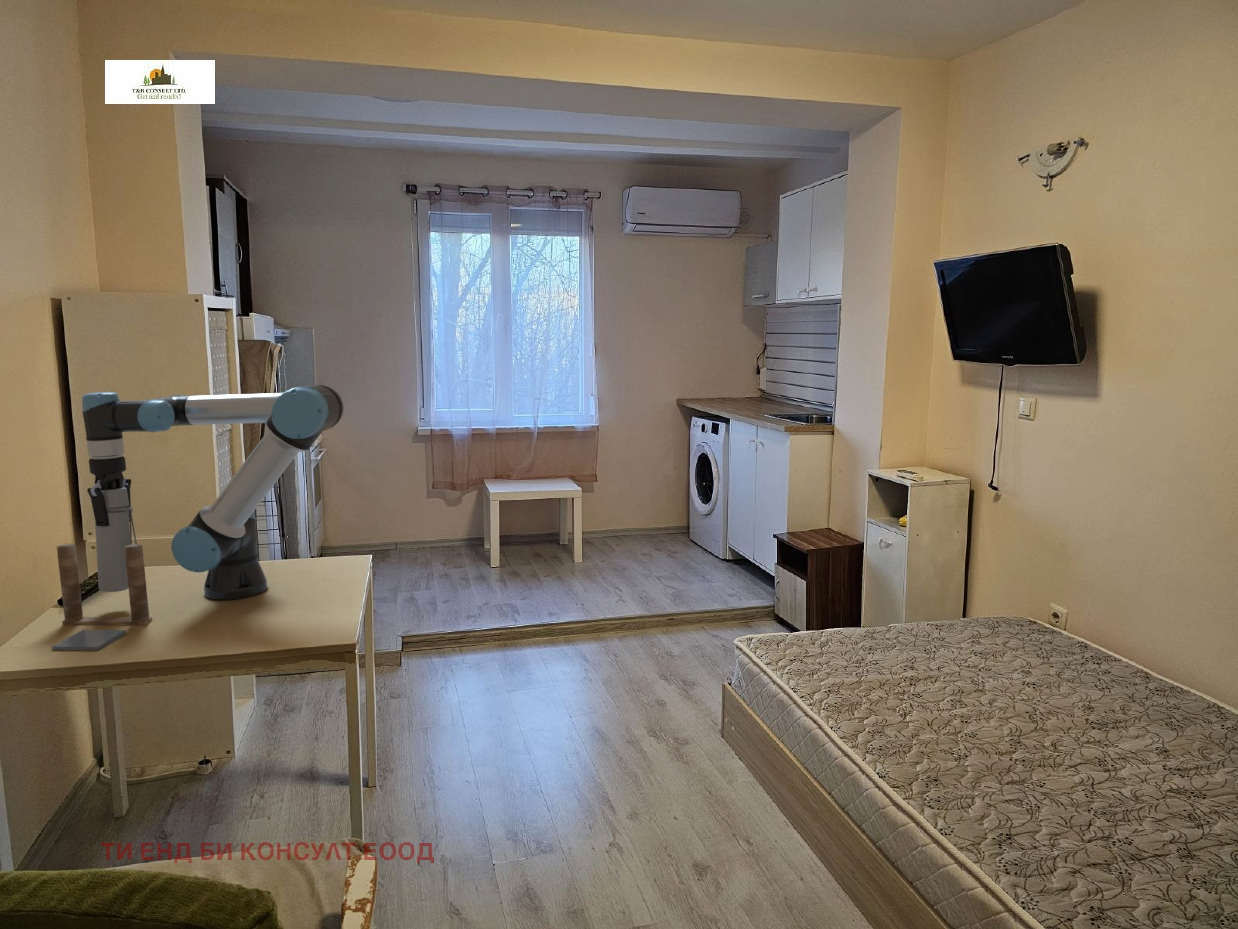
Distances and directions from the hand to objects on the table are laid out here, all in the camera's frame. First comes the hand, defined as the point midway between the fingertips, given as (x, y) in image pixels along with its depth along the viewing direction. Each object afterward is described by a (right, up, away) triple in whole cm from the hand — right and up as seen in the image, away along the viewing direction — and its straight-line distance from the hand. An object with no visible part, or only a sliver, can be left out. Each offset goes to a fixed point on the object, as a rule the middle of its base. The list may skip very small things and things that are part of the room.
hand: (117, 550), depth 198 cm
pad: (+6, -18, -19) cm, 27 cm away
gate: (+2, -16, -8) cm, 18 cm away
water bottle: (0, -10, +1) cm, 10 cm away
